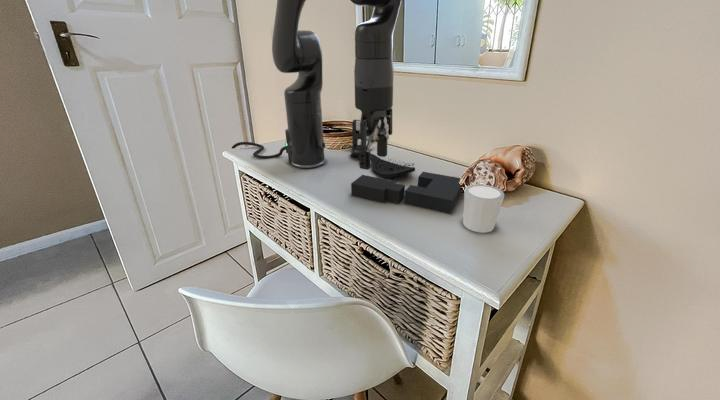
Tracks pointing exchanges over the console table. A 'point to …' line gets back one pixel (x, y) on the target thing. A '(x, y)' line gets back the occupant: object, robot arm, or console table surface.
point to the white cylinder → (481, 207)
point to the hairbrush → (387, 166)
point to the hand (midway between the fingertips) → (373, 162)
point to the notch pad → (434, 192)
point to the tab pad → (377, 189)
